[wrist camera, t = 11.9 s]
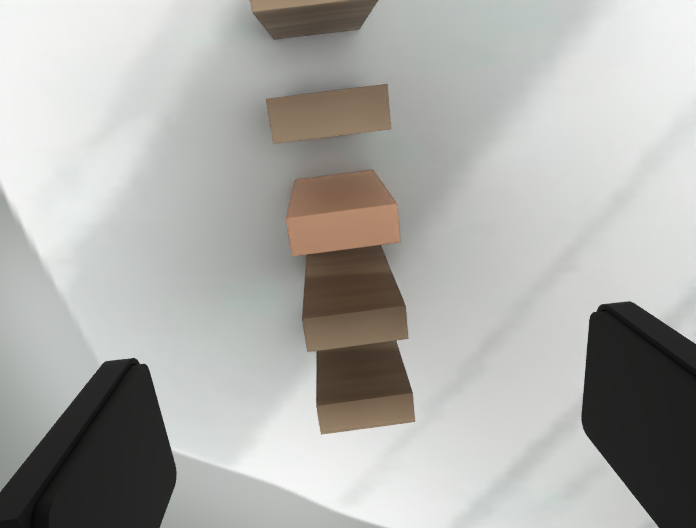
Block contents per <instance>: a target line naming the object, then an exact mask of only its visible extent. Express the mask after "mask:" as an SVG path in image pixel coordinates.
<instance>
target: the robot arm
mask: <svg viewBox="0 0 696 528" xmlns="http://www.w3.org/2000/svg"><path fill="white" fill-rule="evenodd" d="M582 425H583V429H584V431H585V433H586V435H587V436H588V438H589V439H590V440H591V442H592V443H593V444H594V445H595V447H596V448H597V449H598V450H599V452H600V453H601V454H602V456H603V457H604V458H605V459H606V461H607V462H608V463H609V464H610V466H611V467H612V468H613V470H614V471H615V472H616V473H617V475H618V476H619V477H620V478H621V480H622V481H623V482H624V484H625V485H626V486H627V487H628V489H629V490H630V491H631V492H632V494H633V495H634V496H635V498H636V499H637V500H638V501H639V503H640V504H641V505H642V506H643V508H644V509H645V510H646V512H647V513H648V514H649V515H650V517H651V518H652V519H653V520H654V522H655V523H656V524H657V526H658V527H659V528H696V344H695V343H693V342H692V341H690V340H689V339H687V338H686V337H684V336H683V335H681V334H680V333H678V332H677V331H675V330H674V329H672V328H671V327H669V326H668V325H666V324H665V323H663V322H662V321H660V320H659V319H657V318H656V317H654V316H653V315H651V314H650V313H648V312H647V311H645V310H644V309H642V308H641V307H639V306H638V305H636V304H635V303H633V302H630V301H628V302H619V303H610V304H602V305H600V306H599V307H598V309H597V312H593V313H592V314H591V316H590V320H589V332H588V344H587V356H586V368H585V380H584V393H583V405H582ZM175 483H176V466H175V462H174V458H173V455H172V451H171V447H170V444H169V440H168V436H167V433H166V429H165V425H164V422H163V418H162V415H161V411H160V407H159V404H158V400H157V396H156V393H155V389H154V385H153V382H152V378H151V375H150V371H149V368H148V366H147V365H146V364H140V363H139V362H138V360H137V359H135V358H131V359H122V360H113V361H106V362H104V363H103V364H102V365H101V367H100V368H99V369H98V370H97V372H96V373H95V374H94V375H93V377H92V378H91V379H90V380H89V382H88V383H87V384H86V385H85V387H84V388H83V389H82V390H81V392H80V393H79V394H78V395H77V397H76V398H75V399H74V401H73V402H72V403H71V404H70V406H69V407H68V408H67V409H66V410H65V412H64V413H63V414H62V415H61V417H60V418H59V419H58V420H57V422H56V423H55V424H54V426H53V427H52V428H51V429H50V430H49V432H48V433H47V434H46V436H45V437H44V438H43V439H42V441H41V442H40V443H39V444H38V446H37V447H36V448H35V449H34V451H33V452H32V453H31V454H30V456H29V457H28V458H27V459H26V461H25V462H24V463H23V464H22V466H21V467H20V468H19V469H18V471H17V472H16V473H15V474H14V476H13V477H12V478H11V479H10V481H9V482H8V483H7V485H6V486H5V487H4V488H3V489H2V491H1V492H0V528H160V525H161V522H162V519H163V517H164V514H165V511H166V509H167V506H168V503H169V500H170V497H171V495H172V492H173V489H174V487H175Z"/></svg>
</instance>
